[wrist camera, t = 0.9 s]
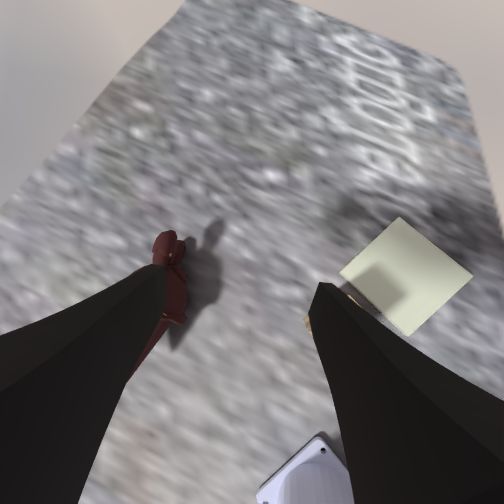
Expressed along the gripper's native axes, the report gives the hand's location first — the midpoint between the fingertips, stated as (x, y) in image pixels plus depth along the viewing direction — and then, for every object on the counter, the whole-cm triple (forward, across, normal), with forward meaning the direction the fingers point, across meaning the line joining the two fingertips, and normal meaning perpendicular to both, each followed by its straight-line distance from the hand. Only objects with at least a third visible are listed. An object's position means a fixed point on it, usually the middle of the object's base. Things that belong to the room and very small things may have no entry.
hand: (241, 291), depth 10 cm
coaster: (+9, -16, +3) cm, 18 cm away
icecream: (+11, +7, +11) cm, 17 cm away
